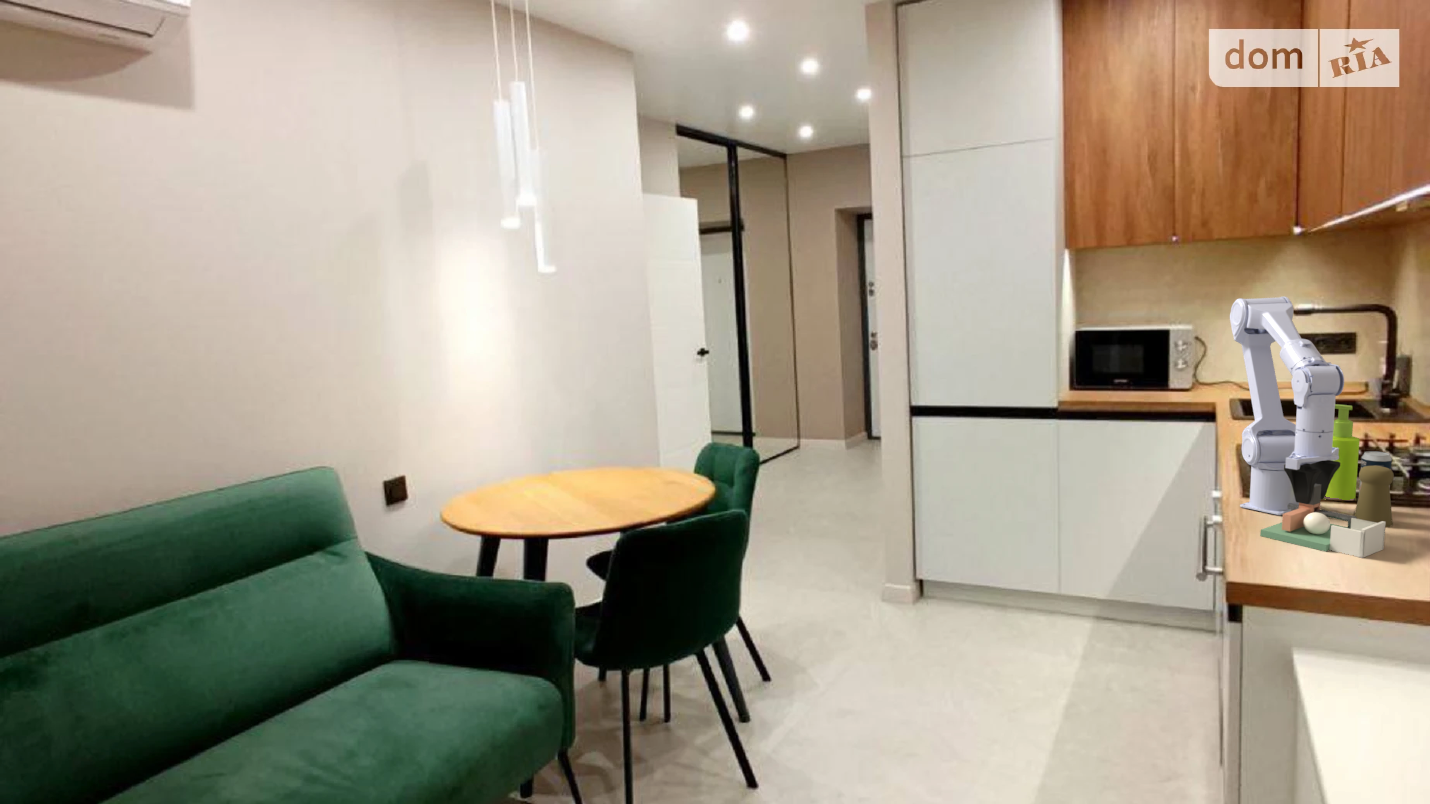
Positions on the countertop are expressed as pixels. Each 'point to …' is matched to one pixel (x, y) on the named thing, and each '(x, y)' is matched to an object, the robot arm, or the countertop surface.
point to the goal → (1358, 538)
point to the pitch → (1299, 536)
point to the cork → (1375, 495)
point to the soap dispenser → (1344, 457)
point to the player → (1301, 511)
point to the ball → (1316, 523)
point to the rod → (1327, 514)
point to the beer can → (1375, 461)
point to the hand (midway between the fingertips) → (1309, 500)
